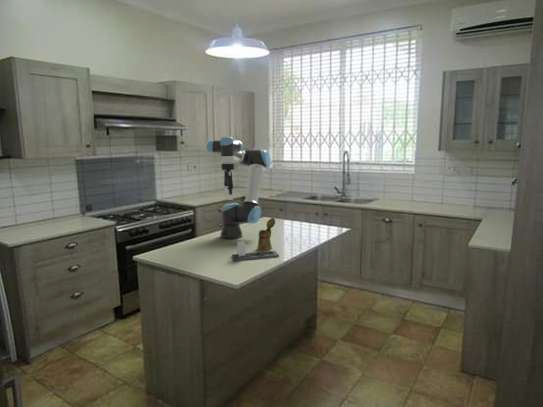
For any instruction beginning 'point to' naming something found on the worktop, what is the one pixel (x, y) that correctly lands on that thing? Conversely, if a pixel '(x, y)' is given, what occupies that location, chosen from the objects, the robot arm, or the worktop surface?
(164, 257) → the worktop surface
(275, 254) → the dark grey slotted board
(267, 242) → the wooden mug
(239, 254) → the steel peg
